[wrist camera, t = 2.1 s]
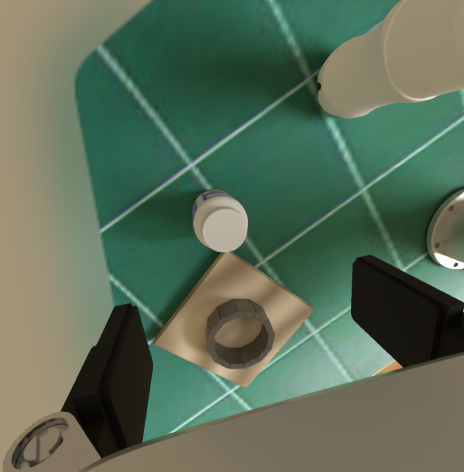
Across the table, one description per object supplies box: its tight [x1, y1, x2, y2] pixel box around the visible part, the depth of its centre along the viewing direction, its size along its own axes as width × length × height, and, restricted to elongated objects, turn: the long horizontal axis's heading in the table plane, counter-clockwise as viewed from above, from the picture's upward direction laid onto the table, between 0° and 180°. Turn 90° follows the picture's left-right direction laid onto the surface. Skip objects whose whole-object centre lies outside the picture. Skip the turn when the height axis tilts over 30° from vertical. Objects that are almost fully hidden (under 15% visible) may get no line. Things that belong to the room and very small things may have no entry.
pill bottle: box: [192, 189, 248, 252], centre depth 26 cm, size 5×5×10 cm
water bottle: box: [318, 0, 464, 119], centre depth 17 cm, size 7×7×25 cm
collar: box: [205, 299, 275, 369], centre depth 33 cm, size 9×9×3 cm
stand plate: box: [154, 251, 314, 388], centre depth 35 cm, size 16×16×2 cm
